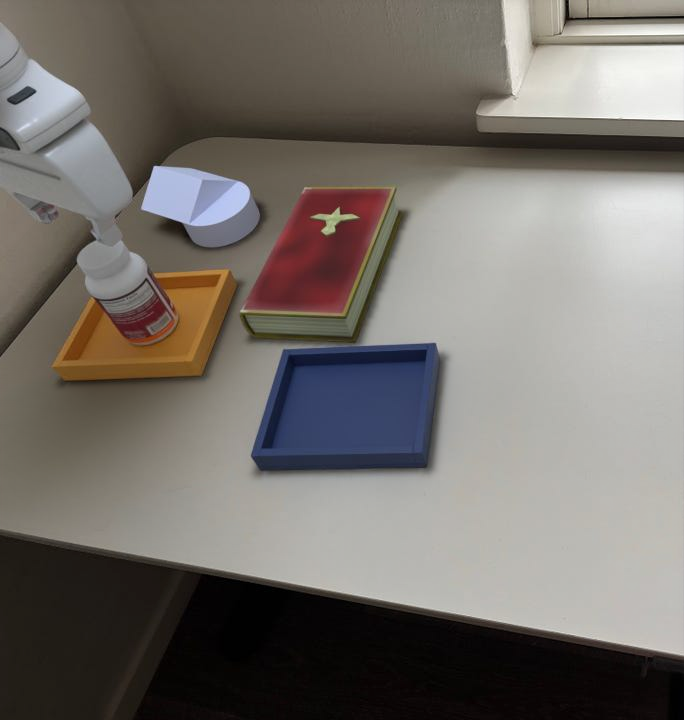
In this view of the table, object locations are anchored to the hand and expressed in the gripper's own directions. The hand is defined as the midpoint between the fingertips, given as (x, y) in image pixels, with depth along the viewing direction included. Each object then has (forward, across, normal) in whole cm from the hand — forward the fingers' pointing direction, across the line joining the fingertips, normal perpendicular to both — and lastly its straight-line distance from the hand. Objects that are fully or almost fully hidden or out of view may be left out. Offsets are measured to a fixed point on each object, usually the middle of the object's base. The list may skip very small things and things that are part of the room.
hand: (79, 229), depth 69 cm
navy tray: (+14, +28, 0) cm, 32 cm away
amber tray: (+14, 0, 0) cm, 14 cm away
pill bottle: (+14, +1, 0) cm, 14 cm away
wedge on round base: (+14, -7, +18) cm, 24 cm away
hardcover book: (+14, +14, +16) cm, 25 cm away
